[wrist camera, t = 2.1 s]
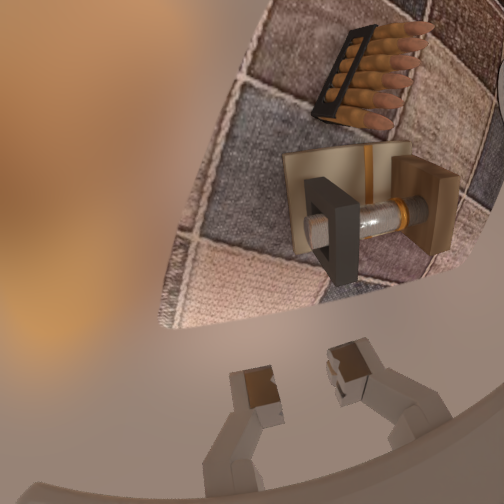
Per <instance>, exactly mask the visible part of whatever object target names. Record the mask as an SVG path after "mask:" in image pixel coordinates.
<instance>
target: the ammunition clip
mask: <svg viewBox="0 0 504 504" xmlns="http://www.w3.org/2000/svg"><path fill="white" fill-rule="evenodd" d="M434 28H435V26H434V25H433V24H431V23H428V22H422V21H415V22H406V23H391V24H387V25H383V26H379V27H378V25H377V24H373V25H369V26H365V27H362V28H358V29H354V30H351V31H350V32H349V34H348V36H347V38H346V40H345V43H344V45H343V47H342V49H341V51H340V53H339V55H338V57H337V59H336V61H335V64H334V66H333V68H332V70H331V72H330V74H329V76H328V78H327V81H326V83H325V85H324V87H323V89H322V91H321V93H320V95H319V97H318V100H317V102H316V104H315V106H314V108H313V110H312V112H311V116H313V117H315V118H317V119H319V120H321V121H323V122H325V123H329V124H335V125H342V126H348V127H351V126H352V127H356V128H368V129H374V130H389V129H392V128H393V127H394V124H393V122H392V121H391V120H389V119H388V118H386V117H384V116H382V115H380V114H377V113H373V112H370V111H367V110H365V109H374V108H383V109H395V108H399V107H401V106H403V105H404V101H403V100H402V99H400V98H399V97H397V96H394V95H392V94H388V93H382V92H377V91H380V90H383V89H401V88H405V87H408V86H410V85H412V84H413V80H412V79H410V78H409V77H406V76H404V75H401V74H394V73H389V72H392V71H399V70H408V69H412V68H415V67H417V66H419V65H420V64H421V61H420V60H419V59H417V58H415V57H412V56H407V55H399V54H403V53H408V52H414V51H418V50H421V49H423V48H425V47H427V46H428V44H429V43H428V42H427V41H425V40H423V39H419V38H409V37H413V36H418V35H422V34H425V33H428V32H430V31H431V30H433V29H434ZM373 90H374V91H373ZM362 108H364V109H362Z"/></svg>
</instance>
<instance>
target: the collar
mask: <svg viewBox="0 0 504 504" xmlns="http://www.w3.org/2000/svg"><path fill="white" fill-rule="evenodd" d="M304 188H305V199H306V210H307V216H311V215H316V214H321V213H323V214H324V215H325V216H326V217H327V218H328V235H329V246H325V247H320V248H316V249H311V250H312V251H313V253H314V254H315V256H316V257H317V259H318V260H319V262H320V263H321V265H322V266H323V268H324V269H325V271H326V272H327V274H328V276H329V277H330V279H331V280H332V282H333V283H334V285H335V287H338V286H342V285H346V284H349V283H353V282H356V281H357V280H358V264H359V240H360V203H359V202H358V201H356V200H355V199H354V198H352V197H351V196H350V195H349V194H347V193H346V192H345V191H343V190H342V189H341V188H339V187H338V186H337V185H335V184H334V183H332V182H331V181H330V180H328V179H327V178H326V177H324V176H323V177H317V178H311V179H305V180H304Z"/></svg>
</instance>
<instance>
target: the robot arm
mask: <svg viewBox="0 0 504 504" xmlns="http://www.w3.org/2000/svg"><path fill="white" fill-rule="evenodd" d="M498 93H499V103H500V109H501V114H502V118H503V121H504V61H503V63H502V65H501V68H500V72H499V80H498ZM327 357H328V359H329V360H328V361H327V363H326V368H327V373H328V377H329V380H330V383H331V384H332V385H333V386H335V387H336V390H335V395H336V397H337V399H338V402H339V404H340V406H341V407H343V406H346V405H350V404H353V403H356V402H358V401H362V402H363V403H364V404H366V405H367V406H368V407H370V408H371V409H373V410H374V411H376V412H377V413H378V414H380V415H381V416H383V417H384V418H386V419H387V420H389V421H390V422H391V423H393V424H394V425H395V427H394V428H393V430H392V431H391V433H390V435H389V436H388V441H389V443H390V445H391V447H392V450H393V451H390V452H388V453H386V454H384V455H382V456H379V457H377V458H374V459H372V460H369V461H367V462H364V463H362V464H359V465H356V466H354V467H351V468H348V469H345V470H342V471H339V472H336V473H333V474H329V475H326V476H323V477H319V478H316V479H312V480H309V481H305V482H301V483H297V484H293V485H289V486H284V487H279V488H275V489H269V490H265V488H264V484H263V479H262V476H261V475H260V473H259V471H258V470H257V468H256V467H255V465H254V463H253V462H252V461H251V458H252V456H253V453H254V451H255V448H256V446H257V443H258V441H259V438H260V435H261V433H262V431H263V430H262V429H264V428H268V427H272V426H276V425H280V424H284V423H285V422H284V417H283V412H282V406H281V401H280V397H279V393H278V389H277V385H276V384H275V379H274V374H273V370H272V367H271V365H267V366H263V367H258V368H253V369H248V370H242V371H237V372H232V373H230V375H229V378H230V386H231V393H232V400H233V407H234V412H231V413H230V414H229V416H228V418H227V420H226V422H225V423H224V425H223V427H222V429H221V431H220V433H219V434H218V436H217V438H216V440H215V442H214V444H213V445H212V447H211V449H210V451H209V452H208V454H207V456H206V458H205V460H204V461H203V463H202V465H203V476H204V486H205V495H206V498H192V499H148V498H131V497H119V496H110V495H103V494H95V493H89V492H83V491H78V490H72V489H68V488H63V487H59V486H54V485H51V484H47V483H43V482H35V483H34V484H32V485H31V486H30V487H29V488H28V489H27V490H26V491H25V492H24V493H23V494H22V495H21V496H20V498H19V499H18V500H17V502H16V504H504V383H502V384H501V385H500V386H499V387H497V388H496V389H495V390H494V391H492V392H491V393H490V394H488V395H487V396H485V397H484V398H483V399H481V400H480V401H479V402H477V403H476V404H474V405H473V406H471V407H470V408H468V409H467V410H465V411H464V412H462V413H461V414H459V415H458V416H456V417H454V418H453V417H452V416H451V414H450V412H449V411H448V409H447V407H446V406H445V404H444V402H443V401H442V399H441V397H440V396H439V394H438V392H436V391H434V390H432V389H429V388H428V387H426V386H424V385H422V384H420V383H418V382H416V381H414V380H412V379H410V378H408V377H406V376H404V375H402V374H400V373H398V372H396V371H394V370H392V369H390V368H387V369H385V367H384V366H383V364H382V362H381V360H380V359H379V357H378V355H377V354H376V352H375V350H374V348H373V347H372V345H371V344H370V342H369V340H368V339H367V338H366V337H364V338H361V339H359V340H356V341H353V342H352V341H351V342H348V343H345V344H342V345H339V346H336V347H333V348H330V349H328V350H327Z"/></svg>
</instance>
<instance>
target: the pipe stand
mask: <svg viewBox="0 0 504 504" xmlns="http://www.w3.org/2000/svg"><path fill="white" fill-rule="evenodd" d="M282 158H283V166H284V174H285V181H286V189H287V198H288V206H289V215H290V224H291V233H292V243H293V251H294V253H295V254H296V255H298V254H302V253H307V252H311V251H312V250H311V248H310V247H309V245H308V242H307V240H306V236H305V231H304V218H305V217H306V216H307V210H306V199H305V188H304V180H305V179H311V178H317V177H323V176H324V177H326V178H327V179H328V180H330V181H331V182H332V183H334V184H335V185H337V186H338V187H339V188H341V189H342V190H343V191H345V192H346V193H347V194H349V195H350V196H351V197H352V198H354V199H355V200H356V201H358V202H359V203H360V206H362V205H367V204H372V203H378V202H383V201H387V200H388V199H390V198H396V197H399V198H405V197H410V196H416V195H420V196H422V197H423V198H424V199H425V201H426V203H427V205H428V210H429V215H428V219H427V221H426V222H425V223H422V224H418V225H414V226H410V227H407V228H406V229H404V230H400V231H401V232H402V233H403V234H405V235H406V236H407V237H408V238H409V239H411V240H412V241H413V242H414V243H415V244H416V245H418V246H419V247H420V248H421V249H422V250H423V251H424V252H425V253H427V254H428V255H429V256H432V255H435V254H438V253H441V252H444V251H447V250H450V245H451V240H452V235H453V229H454V223H455V217H456V211H457V203H458V195H459V187H460V176H459V175H457V174H455V173H453V172H451V171H449V170H447V169H444V168H442V167H440V166H438V165H436V164H433V163H431V162H429V161H426V160H424V159H422V158H419V157H417V156H414V155H412V142H411V141H408V140H399V141H384V142H372V143H361V144H352V145H342V146H334V147H326V148H318V149H311V150H304V151H297V152H291V153H284V154H282ZM392 232H396V231H394V230H393V231H389V232H384V233H380V234H376V235H372V236H367V237H363V238H360V240H362V239H368V238H372V237H375V236H379V235H383V234H387V233H392Z"/></svg>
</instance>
